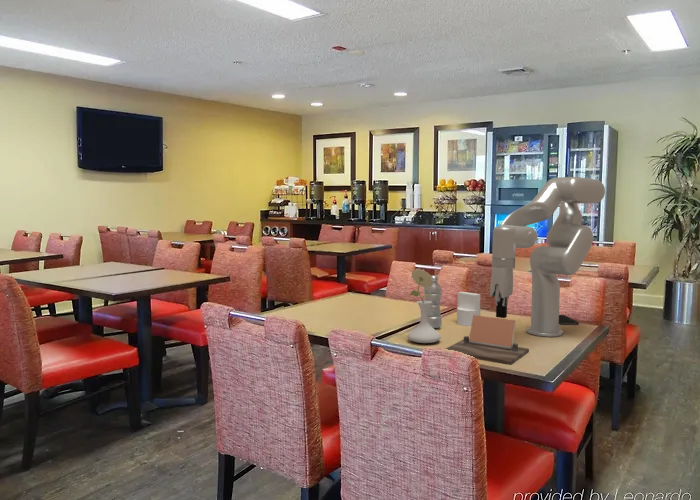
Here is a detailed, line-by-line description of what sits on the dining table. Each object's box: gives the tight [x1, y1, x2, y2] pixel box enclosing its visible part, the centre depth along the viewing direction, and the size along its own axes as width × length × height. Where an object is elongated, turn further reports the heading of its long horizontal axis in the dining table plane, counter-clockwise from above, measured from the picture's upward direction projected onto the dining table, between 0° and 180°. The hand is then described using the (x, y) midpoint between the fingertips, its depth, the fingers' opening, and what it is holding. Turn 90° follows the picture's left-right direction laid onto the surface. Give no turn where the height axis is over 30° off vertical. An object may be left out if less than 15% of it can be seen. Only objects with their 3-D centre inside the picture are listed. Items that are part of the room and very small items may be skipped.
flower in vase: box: [407, 268, 442, 344], centre depth 190 cm, size 13×11×25 cm
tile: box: [469, 315, 517, 350], centre depth 180 cm, size 9×14×1 cm
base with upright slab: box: [456, 291, 481, 327], centre depth 217 cm, size 9×9×12 cm
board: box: [445, 335, 530, 366], centre depth 177 cm, size 17×22×3 cm
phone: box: [559, 314, 580, 326], centre depth 222 cm, size 8×1×15 cm
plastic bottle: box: [423, 274, 443, 329], centre depth 209 cm, size 6×7×20 cm
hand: (501, 317), depth 187 cm, fingers closed
